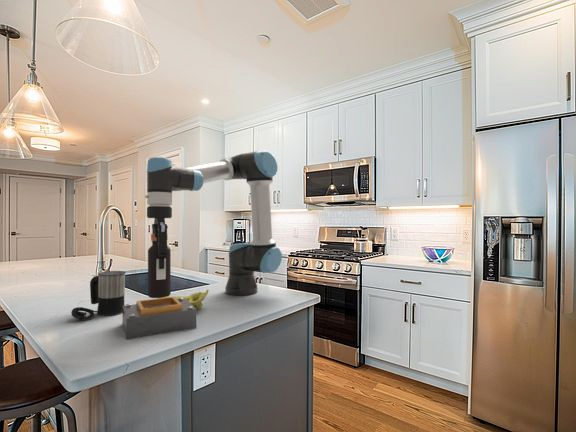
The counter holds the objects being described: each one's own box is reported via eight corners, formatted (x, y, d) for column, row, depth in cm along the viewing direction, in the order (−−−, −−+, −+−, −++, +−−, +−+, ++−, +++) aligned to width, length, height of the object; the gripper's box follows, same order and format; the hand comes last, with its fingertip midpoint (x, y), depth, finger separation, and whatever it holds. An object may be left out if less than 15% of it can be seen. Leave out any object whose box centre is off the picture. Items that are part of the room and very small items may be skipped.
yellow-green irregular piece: (152, 304, 122) (165, 287, 131) (158, 319, 125) (171, 302, 134) (199, 303, 118) (210, 286, 127) (205, 319, 121) (215, 301, 130)
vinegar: (163, 298, 100) (163, 234, 100) (143, 298, 101) (143, 234, 101) (174, 293, 107) (174, 233, 107) (155, 293, 108) (155, 233, 108)
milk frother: (130, 309, 124) (130, 270, 124) (107, 322, 108) (107, 278, 108) (93, 309, 124) (93, 270, 124) (64, 322, 108) (65, 277, 108)
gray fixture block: (184, 314, 116) (184, 294, 116) (196, 327, 103) (196, 304, 103) (122, 324, 106) (122, 301, 106) (126, 339, 92) (126, 313, 92)
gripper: (143, 206, 111) (142, 274, 110) (151, 204, 94) (150, 283, 94) (166, 207, 114) (165, 272, 114) (178, 205, 98) (177, 281, 98)
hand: (159, 277), depth 104 cm, fingers closed on vinegar, 6 cm apart
